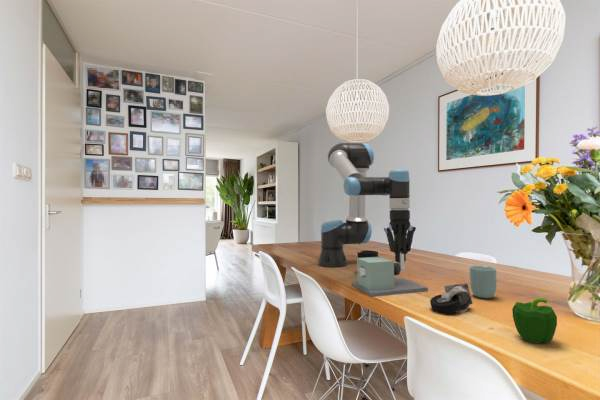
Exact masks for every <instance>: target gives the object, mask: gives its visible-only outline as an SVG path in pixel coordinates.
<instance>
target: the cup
mask: <svg viewBox="0 0 600 400" xmlns="http://www.w3.org/2000/svg"><path fill="white" fill-rule="evenodd" d="M497 274H498V273H497V268H495V267H493V266H487V265H470V267H469V282H470V283H469V285H470V291H471V292H472V294H473V295H474V296H475V297H476V298H479V299H484V300H485V299H492V298H494V297H495V296H496V293H497V277H498V276H497Z"/></svg>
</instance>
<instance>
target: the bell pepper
mask: <svg viewBox="0 0 600 400" xmlns="http://www.w3.org/2000/svg"><path fill="white" fill-rule="evenodd" d="M548 301H549V300H548V299H547V298H543V297H538V298H535V299H533V300H532V301H528V302H524V303H523V302H515V304H514V305H513V307H512V309H511V310H512V318H513V322H514V326H515V328H516V332H517V333H518V335H519V336H520V337H521V339H522V340H524V341H526V342H529V343H533V344H541V343H547V344H548V343H551V342H552V341H553V339H554V336H555V333H556V329H557V326H558V317H557V314H556V312H555V311H554V309H553V307H552V306H549V305H539V303H544V304H547V303H548Z"/></svg>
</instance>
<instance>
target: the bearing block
mask: <svg viewBox="0 0 600 400" xmlns="http://www.w3.org/2000/svg"><path fill="white" fill-rule="evenodd" d="M394 263H395V260H391V259H388V258H386V257H383V256H378V257H368V258H358V257H357V258H356V269H357V270H356V279H357V281H352V282H351V286H353V287H354V288H356V289H357V290H359V291H360V292H363V293H364V294H366V295H368V296H369V297H380V296H392V295H399V294H411V293H421V292H428V291H429V288H428V287H426V286H424V285H422V284H419V283H417V282H414V281H412V280H409V279H406V278H404V277H397V278H395V275H394ZM363 267H365V276H360V275H359V273H358V269H359V268H363Z"/></svg>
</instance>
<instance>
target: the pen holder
mask: <svg viewBox="0 0 600 400" xmlns="http://www.w3.org/2000/svg"><path fill="white" fill-rule="evenodd" d="M368 257H379V252H378V251H377V250H369V249H368V250H362V251H360V252H359V251H357V258H368Z"/></svg>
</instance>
